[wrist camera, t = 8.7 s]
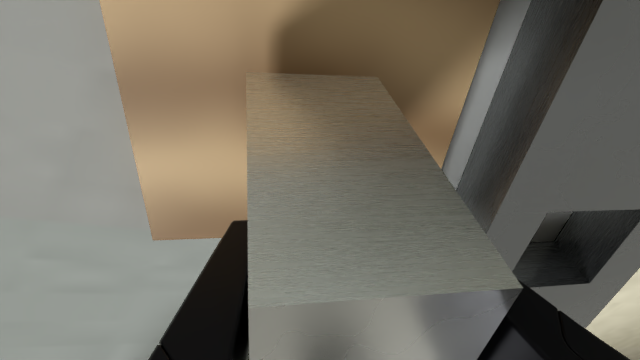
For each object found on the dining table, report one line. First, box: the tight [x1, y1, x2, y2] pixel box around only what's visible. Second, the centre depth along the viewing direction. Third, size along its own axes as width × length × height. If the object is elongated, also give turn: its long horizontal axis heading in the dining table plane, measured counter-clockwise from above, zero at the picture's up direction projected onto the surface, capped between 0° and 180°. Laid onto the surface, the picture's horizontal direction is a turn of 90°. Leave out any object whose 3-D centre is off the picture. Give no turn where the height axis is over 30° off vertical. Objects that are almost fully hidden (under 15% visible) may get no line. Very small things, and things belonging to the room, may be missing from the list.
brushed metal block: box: [246, 72, 523, 360], centre depth 10 cm, size 4×4×8 cm
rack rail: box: [456, 0, 640, 328], centre depth 17 cm, size 22×10×3 cm, turn 174°
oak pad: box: [99, 0, 500, 240], centre depth 14 cm, size 12×12×1 cm
